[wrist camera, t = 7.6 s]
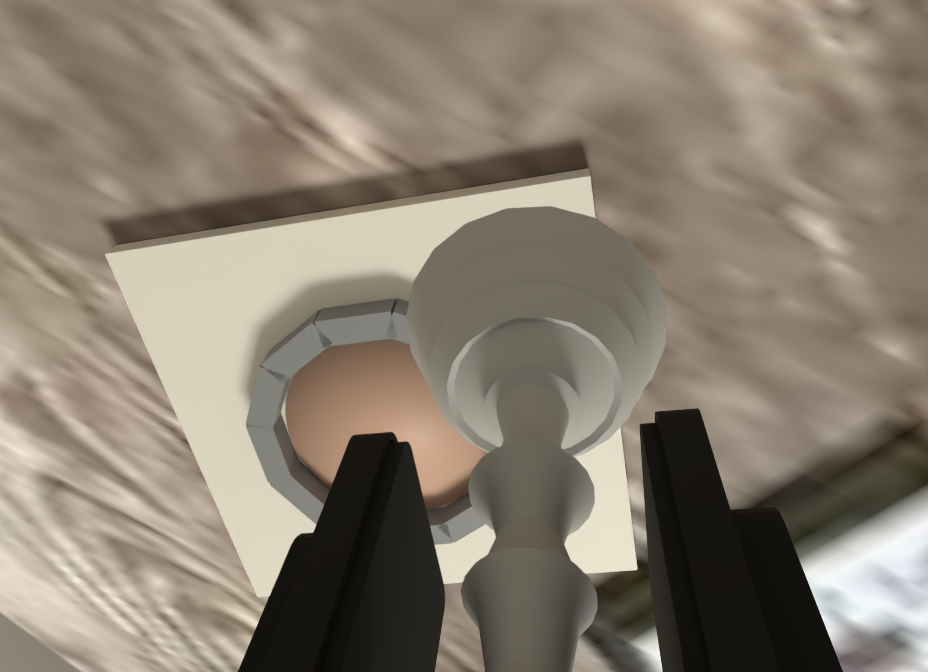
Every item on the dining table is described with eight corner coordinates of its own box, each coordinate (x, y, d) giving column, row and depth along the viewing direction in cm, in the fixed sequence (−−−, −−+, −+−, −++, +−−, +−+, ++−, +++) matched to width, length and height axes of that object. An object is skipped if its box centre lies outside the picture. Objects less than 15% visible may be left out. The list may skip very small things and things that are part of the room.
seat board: (588, 168, 29) (592, 186, 27) (635, 554, 38) (640, 588, 36) (116, 245, 32) (89, 265, 30) (263, 582, 41) (250, 615, 39)
